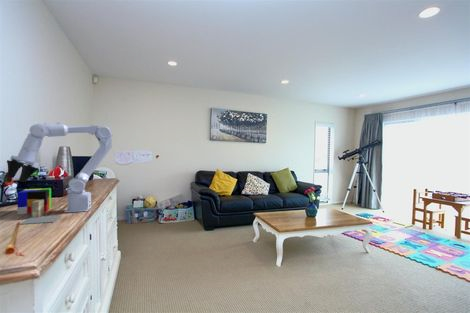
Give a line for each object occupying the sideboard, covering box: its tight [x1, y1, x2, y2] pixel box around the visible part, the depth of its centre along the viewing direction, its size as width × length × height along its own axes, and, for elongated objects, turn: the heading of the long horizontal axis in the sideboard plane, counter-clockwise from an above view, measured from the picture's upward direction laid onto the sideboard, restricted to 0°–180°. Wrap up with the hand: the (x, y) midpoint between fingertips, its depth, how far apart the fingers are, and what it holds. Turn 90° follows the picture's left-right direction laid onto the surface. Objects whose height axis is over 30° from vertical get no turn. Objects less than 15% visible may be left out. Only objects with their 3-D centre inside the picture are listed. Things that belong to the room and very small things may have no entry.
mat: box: [19, 215, 62, 226], centre depth 95 cm, size 11×8×1 cm
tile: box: [31, 199, 45, 218], centre depth 101 cm, size 2×5×7 cm, turn 20°
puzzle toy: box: [17, 187, 52, 215], centre depth 110 cm, size 10×10×10 cm
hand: (16, 179), depth 98 cm, fingers open, 7 cm apart
